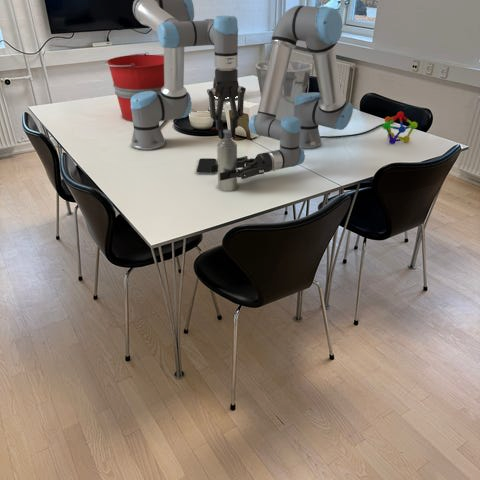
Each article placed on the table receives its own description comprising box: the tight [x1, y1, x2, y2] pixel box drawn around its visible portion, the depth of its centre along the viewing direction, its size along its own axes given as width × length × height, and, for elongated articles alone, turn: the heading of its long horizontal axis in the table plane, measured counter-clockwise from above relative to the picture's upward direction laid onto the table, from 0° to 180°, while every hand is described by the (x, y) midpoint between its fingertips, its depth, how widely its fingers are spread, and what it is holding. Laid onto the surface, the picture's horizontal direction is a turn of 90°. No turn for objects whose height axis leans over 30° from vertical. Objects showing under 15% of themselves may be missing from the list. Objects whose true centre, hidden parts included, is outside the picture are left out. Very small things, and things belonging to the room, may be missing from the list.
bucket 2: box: [255, 59, 313, 120], centre depth 236 cm, size 30×30×28 cm
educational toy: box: [382, 110, 418, 145], centre depth 207 cm, size 16×13×15 cm
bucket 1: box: [103, 52, 164, 122], centre depth 240 cm, size 35×35×30 cm
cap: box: [223, 129, 233, 139], centre depth 157 cm, size 4×4×2 cm
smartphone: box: [196, 157, 217, 175], centre depth 184 cm, size 7×1×15 cm
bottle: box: [216, 138, 238, 192], centre depth 163 cm, size 7×7×21 cm
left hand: (227, 137), depth 158 cm, fingers closed on cap, 4 cm apart
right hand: (215, 173), depth 163 cm, fingers closed on bottle, 7 cm apart
